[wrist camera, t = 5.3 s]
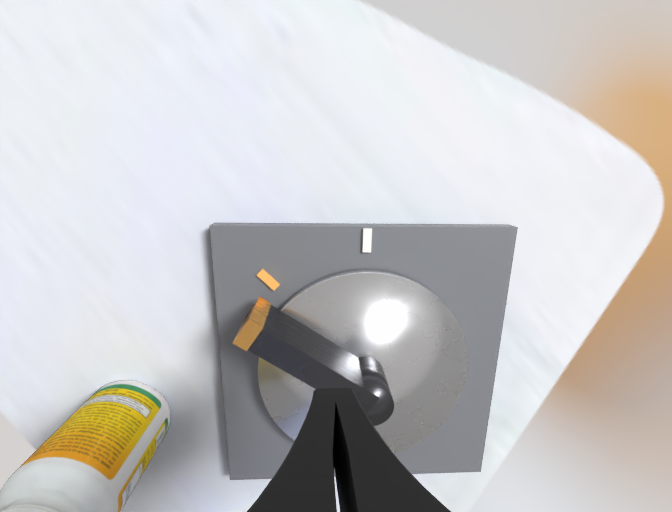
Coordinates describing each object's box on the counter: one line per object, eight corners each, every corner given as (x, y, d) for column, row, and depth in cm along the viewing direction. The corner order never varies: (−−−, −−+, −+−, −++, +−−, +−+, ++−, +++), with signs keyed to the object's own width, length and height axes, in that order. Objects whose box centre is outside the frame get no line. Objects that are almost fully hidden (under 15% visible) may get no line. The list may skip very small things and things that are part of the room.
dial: (502, 339, 22) (542, 376, 18) (381, 476, 24) (393, 536, 20) (316, 211, 19) (316, 222, 15) (201, 379, 21) (174, 426, 18)
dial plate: (474, 460, 26) (481, 474, 24) (233, 467, 25) (229, 482, 23) (508, 224, 21) (519, 228, 20) (214, 222, 20) (208, 226, 19)
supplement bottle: (183, 434, 24) (97, 605, 14) (109, 451, 24) (-24, 632, 14) (156, 368, 22) (41, 511, 13) (77, 386, 22) (-93, 541, 13)
